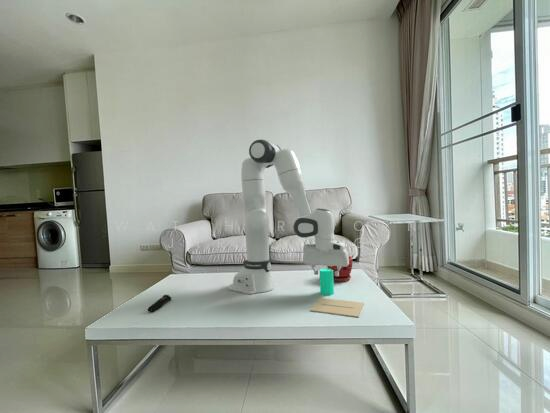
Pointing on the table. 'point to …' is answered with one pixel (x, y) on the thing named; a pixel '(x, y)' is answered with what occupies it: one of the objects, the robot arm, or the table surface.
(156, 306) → the electric trimmer
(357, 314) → the tan flat wooden board
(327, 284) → the candle
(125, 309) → the table surface
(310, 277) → the table surface
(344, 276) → the plant pot
